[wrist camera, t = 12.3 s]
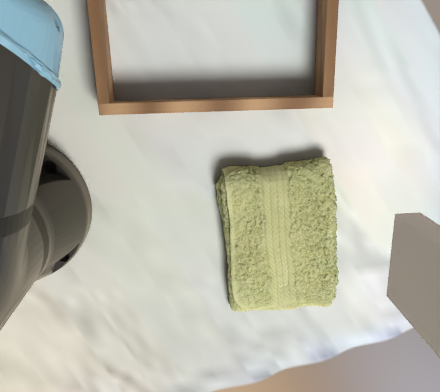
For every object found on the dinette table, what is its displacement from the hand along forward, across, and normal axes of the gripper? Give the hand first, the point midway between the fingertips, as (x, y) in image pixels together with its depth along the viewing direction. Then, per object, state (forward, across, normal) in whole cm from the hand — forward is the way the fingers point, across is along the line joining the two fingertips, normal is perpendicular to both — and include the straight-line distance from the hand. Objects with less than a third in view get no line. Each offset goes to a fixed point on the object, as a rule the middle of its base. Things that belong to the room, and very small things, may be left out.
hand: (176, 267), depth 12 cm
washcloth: (+32, +10, -13) cm, 36 cm away
